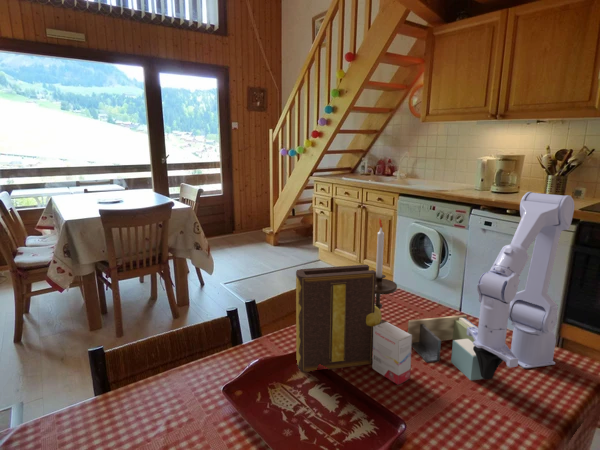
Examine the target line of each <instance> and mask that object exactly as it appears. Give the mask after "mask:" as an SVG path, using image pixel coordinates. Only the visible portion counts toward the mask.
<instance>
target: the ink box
mask: <svg viewBox="0 0 600 450" xmlns="http://www.w3.org/2000/svg"><path fill="white" fill-rule="evenodd" d="M411 343H412V335H411V334H409V333H408V331H405V330H403V329H401V328H399V327H398V326H396V325H394V324H392V323H390V322H389V323H388V321H387V322H384V323H381V324H379V325H376V326H373V355H372V369H373V370H374V371H376V372H377V373H379V374H380V375H381V376H383V377H385V378H387V379H388V380H389V381H391V382H393V383H394V384H395V385H397V386H399V385H401V384H403V383H404V382H406V381H408V380H410V379H411V371H412V370H411V369H412V368H411V366H412V346H411Z"/></svg>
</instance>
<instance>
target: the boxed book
mask: <svg viewBox="0 0 600 450" xmlns="http://www.w3.org/2000/svg"><path fill="white" fill-rule="evenodd" d="M474 346H475V345H473V342H472V341H471V340H469V339H460V340H453V339H452V346H451V347H452V349H451V358H450V359H451V360H450V363H451V364H452V365H454V366H455V367H456V369H458V370H459V371H460V372H461V373H462V374H463V376H465V377H466V378H467V379H468V380H469V381H476V380H477V381H478V380H485V379H484V378H483V377H481V373H480V367H479V362H478V359H477V356H476V354H475V352H474V350H473V347H474Z"/></svg>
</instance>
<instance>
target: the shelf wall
mask: <svg viewBox="0 0 600 450" xmlns="http://www.w3.org/2000/svg"><path fill="white" fill-rule="evenodd" d="M459 318H466V319H467V318H468V315H466V314H461V315H449V316H440V317H430V318H420V319H409V320H408V322H407V333H409V334H411V335H412V343H414V342H419V336H420V324H424V325H425V326H426V327H427V328H428V329H429V330H430V331H431V332H432V333H434V334H435V335H436V336H437V337H438V338H439V339H440V340H441V342H443V341H450V340H452V341H453V331H454V321H455V320H459ZM467 320H468V319H467Z"/></svg>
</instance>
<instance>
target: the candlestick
mask: <svg viewBox="0 0 600 450" xmlns="http://www.w3.org/2000/svg"><path fill="white" fill-rule="evenodd" d="M378 222H379V231H378V232H377V244H376V265H375V271H376V286H375V306H376V307H378V308H379V309H380V310H381V309H382V308H383V304H382V303H381V295H390V294H393V293H395V292H396V291H398V285H397V282H395V281H393V280H391V279H387V276H386V275H385V274H383V270H384V269H383V268H384V267H383V265H384V263H383V262H384V246H385V245H384V243H385V242H384V240H385V232H384V231H383V223H382V220H381V218H380V217H379V219H378ZM384 322H388V321H387V320H384V319H381V322H380V324H381V323H384ZM388 323H390V322H388ZM378 325H379V324H378Z"/></svg>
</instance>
